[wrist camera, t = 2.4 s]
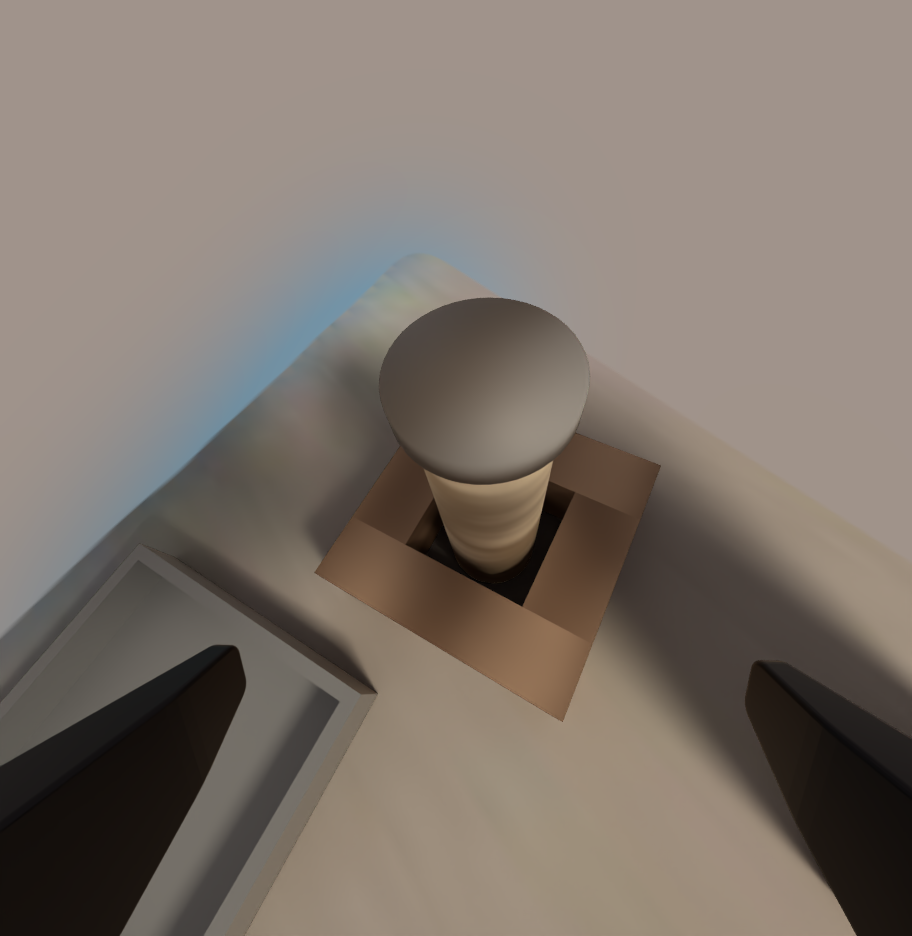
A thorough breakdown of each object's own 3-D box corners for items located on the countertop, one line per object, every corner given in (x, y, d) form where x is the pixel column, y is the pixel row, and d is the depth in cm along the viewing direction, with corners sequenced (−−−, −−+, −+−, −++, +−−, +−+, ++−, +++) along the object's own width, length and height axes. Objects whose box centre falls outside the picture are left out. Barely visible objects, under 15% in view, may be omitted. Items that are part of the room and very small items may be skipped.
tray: (378, 693, 19) (361, 694, 16) (155, 1095, 14) (89, 1173, 12) (175, 557, 22) (139, 543, 20) (-53, 833, 18) (-132, 854, 15)
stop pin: (556, 522, 21) (620, 331, 10) (515, 610, 20) (535, 501, 8) (472, 484, 23) (443, 277, 11) (427, 563, 21) (338, 413, 10)
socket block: (638, 497, 22) (661, 465, 18) (551, 715, 18) (562, 721, 14) (450, 420, 25) (443, 382, 22) (342, 589, 21) (314, 572, 18)
